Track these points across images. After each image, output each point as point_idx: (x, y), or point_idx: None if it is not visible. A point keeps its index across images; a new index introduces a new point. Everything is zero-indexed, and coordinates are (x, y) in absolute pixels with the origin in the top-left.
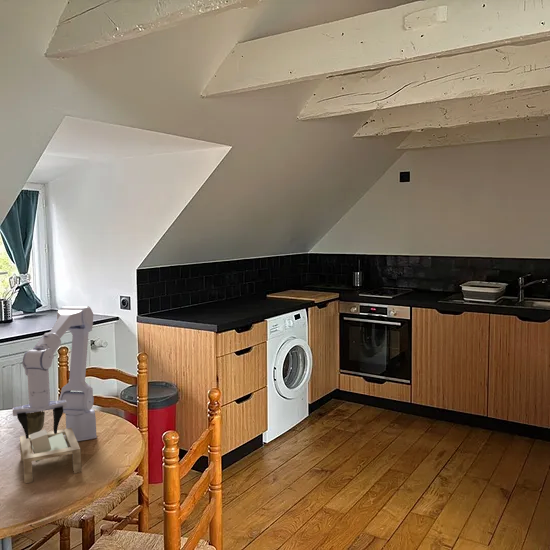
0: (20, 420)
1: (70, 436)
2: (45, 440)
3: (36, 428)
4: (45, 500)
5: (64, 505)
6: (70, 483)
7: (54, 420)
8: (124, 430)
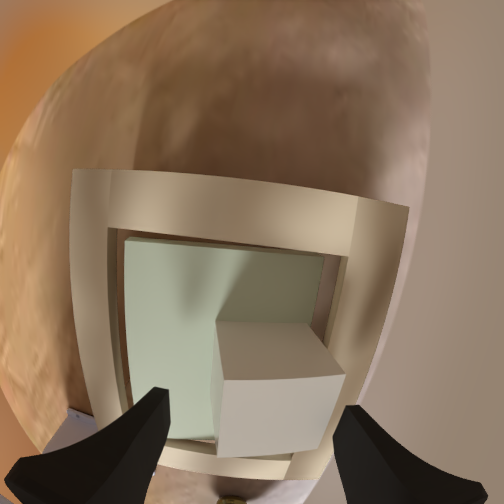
0: (473, 486)
1: (101, 377)
2: (243, 354)
3: None
4: (313, 24)
5: None
6: (197, 92)
7: (132, 467)
8: (16, 395)
